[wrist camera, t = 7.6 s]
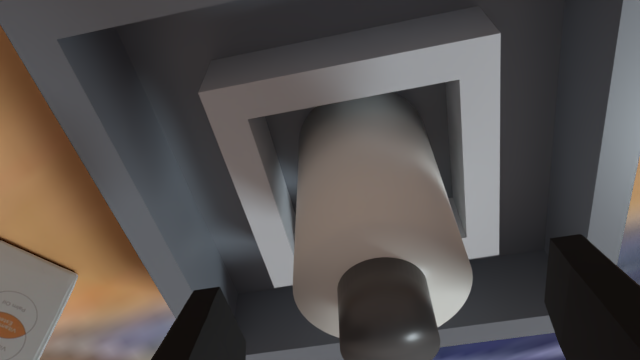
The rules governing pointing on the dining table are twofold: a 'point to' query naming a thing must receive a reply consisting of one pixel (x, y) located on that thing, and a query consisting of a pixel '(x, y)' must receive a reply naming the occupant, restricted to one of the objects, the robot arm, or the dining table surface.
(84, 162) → the walled box
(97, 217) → the dining table surface
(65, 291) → the small box
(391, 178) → the bottle
